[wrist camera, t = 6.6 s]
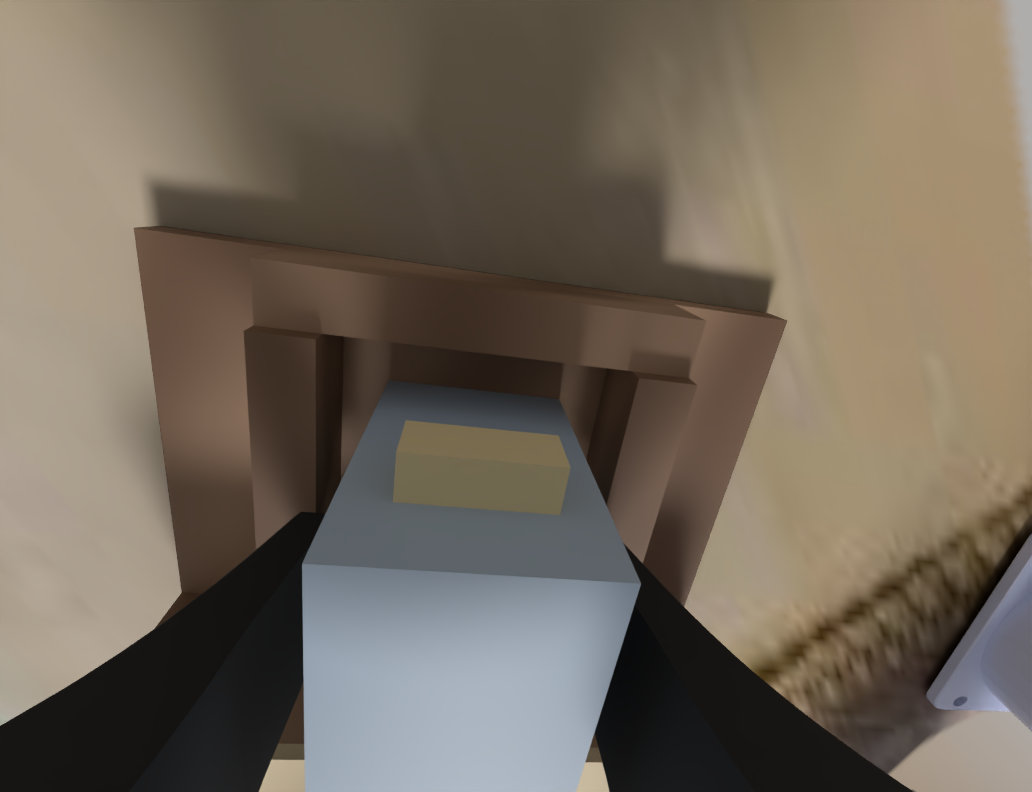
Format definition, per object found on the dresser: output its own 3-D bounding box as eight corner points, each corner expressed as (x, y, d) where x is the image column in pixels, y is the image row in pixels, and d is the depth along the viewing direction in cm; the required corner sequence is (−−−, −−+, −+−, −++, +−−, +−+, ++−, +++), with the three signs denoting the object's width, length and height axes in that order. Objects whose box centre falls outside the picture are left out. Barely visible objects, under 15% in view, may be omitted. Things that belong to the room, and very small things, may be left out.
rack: (767, 313, 12) (949, 381, 7) (659, 626, 16) (735, 799, 11) (159, 226, 10) (-101, 244, 6) (201, 605, 14) (69, 801, 9)
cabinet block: (565, 367, 11) (657, 530, 6) (520, 592, 14) (553, 861, 8) (390, 346, 11) (301, 503, 5) (376, 584, 13) (306, 867, 8)
